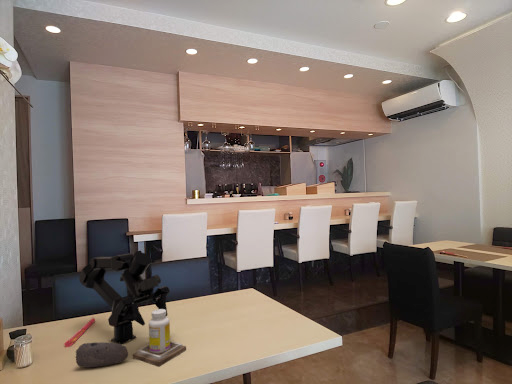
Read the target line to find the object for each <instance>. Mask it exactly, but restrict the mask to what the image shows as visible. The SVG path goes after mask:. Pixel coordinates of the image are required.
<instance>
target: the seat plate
mask: <svg viewBox="0 0 512 384" xmlns="http://www.w3.org/2000/svg"><path fill="white" fill-rule="evenodd" d="M185 351H187V346H186V345H183V343H181V342H180V343H179V342H176V341H173V340H170V349H169V350H168V351H166V352H164V353H160V354H154V353H151V352H150V345H149V344H146V345H145V346H143V347H141V348H139V349H137V350H136V352H135V353H133V354H132V358H133V359H135V360H139V361H142V362H144V363H148V364H150V365H154V366H157V367H160V366H163V365H164V364H166V363H168V362H169V361H171V360H173V359H174V358H175V357H177V356H179V355H181V354H182V353H184V352H185Z"/></svg>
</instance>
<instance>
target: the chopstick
mask: <svg viewBox="0 0 512 384" xmlns="http://www.w3.org/2000/svg"><path fill="white" fill-rule="evenodd" d="M95 322H96V318H94V317H92V318H90V319H89V320H88V321H87V322H86V323H85V324H84V325H83V326H82V327H81V328H80V329H79V330H77V331H76V332H75V333H73V334H72V336H71V337H70V338H68V339H67V340H66V342H64V344H63V345H64V346H65V348H68V347H71V346H72V345H73V344H74V343H75V342H76V341H77V340H78V339H79V338H81V336H82V335H84V334H85V332H86V331H87V330H88V329H89V328H90V327H91V326H92V325H93V324H94V323H95Z"/></svg>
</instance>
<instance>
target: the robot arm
mask: <svg viewBox="0 0 512 384" xmlns="http://www.w3.org/2000/svg"><path fill="white" fill-rule="evenodd" d="M151 262H152V258H151V256H150V255H148V254H147V253H145V252H142V250H136V251H135V252H134V254H133V253H125V254H124V253H123V254H118V255H115V256H97V257H93V258H91V259H90V260H89V262H88V263H87V265H85V266H84V267H83V268H82V270H81V272H80V274H79V278H78V279H79V282H80V284H81V285H82V286H84V287H85V288H86V289H92V290H94V291H95V292H96V293H97V294H98V295H99V296H100V298H102V300H103V301H105V303H106V304H107V305H108V306H109V307H110V309H111V314H110V316H109V317H108V319H107V321H108V326H111V327H113V329H114V330H113V334H114V335H113V336H114V337H113V338H111V339H110V341H111V342H112V343H117V344H121V345H123V344H126V343H127V342H130V341H131V340H134V339H136V338H137V336H136V335H135V334H134V329H133V328H134V327H133V322H136V323H138V324H139V325H140V326H142V327H144V326H145V325H146V323H145V320H144V318H143V316H142V314H141V312H140V310H139V309H140V308H139V304H142V303H146V302H148V301H152V300H153V302H155V303H154V305H155V307H156V308H157V309H165V310H166V317H168V307H167V301H166V299H167V297H168V296H169V294H170V292H171V290H170V288H169V287H168V286H166V285H164V286H159V285H160V284H161V283H162V279H161V277H160V275H159V274H155V275H153V276H151V277H150V278H143V276H142V275H143V274H144V273H145V272H146V271H147V268H148V267H149V266H150V264H151ZM106 268H110V269H111V270H112V271H114V272H120V271H121V272H122V271H123V272H122V273H120V274H121V275H120V278H119V281H120V282H124V284H125V285H126V288H127V289H128V290H127V294H128V295H125V296H123V297H122V296H121V294H119V292H118V291H117V290H115V289H114V287H112V286H111V285H110V284H109V283H108V282H107V281H106V280H105V277H106V276H105V275H106V273H107V271H106ZM158 286H159V287H158ZM156 287H158V288H157V289H156V290H155V291H154V288H156ZM153 291H154V292H153ZM130 294H131V296H130Z"/></svg>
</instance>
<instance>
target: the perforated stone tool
mask: <svg viewBox="0 0 512 384" xmlns="http://www.w3.org/2000/svg"><path fill="white" fill-rule="evenodd" d="M128 356H129V351H128V348H127V347H126V346H124V345H123V344H119V343H116V342H104V341H103V342H102V341H101V342H98V341H97V342H87V343H82V344H81V345H79V346H78V348H77V349H76V350H75V362H76V365H77V366H78V367H80V368H97V367H104V366H105V367H106V366H110V365H116V364H118V363H122V362H123V361H125V360H126V359H127V358H128Z"/></svg>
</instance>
